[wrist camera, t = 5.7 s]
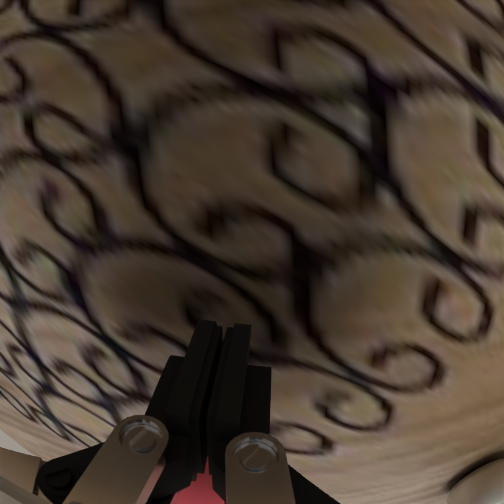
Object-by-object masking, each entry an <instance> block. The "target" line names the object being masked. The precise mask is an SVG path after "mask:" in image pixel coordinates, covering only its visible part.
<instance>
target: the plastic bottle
mask: <svg viewBox="0 0 504 504" xmlns="http://www.w3.org/2000/svg"><path fill="white" fill-rule="evenodd" d="M447 504H504V459H498V460H495V461H492V462H490V463H488V464H486V465H484V466H482V467H480V468H478V469H477V470H475V471H473V472H472V473H470V474H469V475H467V476H466V477H464V478H463V479H461V480H460V481H459V482H458V483H456V484H455V485H454V486H453V487H452V489H451V491H450V494H449V497H448V499H447Z"/></svg>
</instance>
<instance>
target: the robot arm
mask: <svg viewBox="0 0 504 504" xmlns="http://www.w3.org/2000/svg"><path fill="white" fill-rule="evenodd" d="M250 335H251V325H246V324H236V323H234V327H233V328H231V327H227V330H226V334H225V338H224V343H223V347H222V326H217V323H216V321H209V320H200V319H199V321H198V323H197V326H196V328H195V331H194V333H193V336H192V339H191V341H190V344H189V347H188V349H187V352H186V355H185V357H180V356H173V355H171V356H170V357H169V359H168V361H167V363H166V365H165V368H164V370H163V373H162V375H161V377H160V380H159V382H158V384H157V387H156V389H155V391H154V394H153V396H152V399H151V401H150V403H149V406H148V408H147V411H146V413H145V415H134V416H131V417H127V418H125V419H124V420H122V421H120V422H119V424H118V425H117V426H116V427H115V428H114V430H113V431H112V433H111V434H110V435H109V437H108V438H107V440H106V441H105V442H103V443H100V444H98V445H95V446H92V447H89V448H86V449H83V450H80V451H77V452H74V453H71V454H68V455H65V456H62V457H58V458H55V459H52V460H50V461H48V462H46V461H43V460H42V459H41V458H40V457H35V456H31V455H27V454H23V453H19V452H15V451H12V450H8V449H5V448H1V447H0V504H176V502H177V500H178V498H179V496H180V491H181V490H183V489H185V488H187V487H189V486H190V485H191V481H195V482H196V479H197V474H198V473H200V474H204V472H205V467H206V462H207V457H208V467H209V475H212V487H213V490H214V491H215V492H216V493H217V494H218V495H219V496H220V497H221V499H222V500H223V501H224V504H340V503H339V502H337V501H336V500H335V499H333V498H332V497H330V496H329V495H328V494H326V493H325V492H323V491H322V490H321V489H319V488H318V487H317V486H315V485H314V484H313V483H311V482H310V481H309V480H307V479H306V478H305V477H303V476H302V475H301V474H300V473H298V472H297V471H296V470H295V469H293V468H292V467H291V466H290V465H288V463H287V457H286V452H285V450H284V448H283V445H282V444H281V443H280V442H279V441H278V440H277V439H275V438H274V437H272V436H271V435H269V428H270V401H271V367H264V366H253V365H248V358H249V346H250Z"/></svg>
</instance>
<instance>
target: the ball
mask: <svg viewBox="0 0 504 504" xmlns="http://www.w3.org/2000/svg"><path fill="white" fill-rule="evenodd" d="M176 504H224V501H223V500H222V499H221V497H220V496H219V495H218V494H217V493H216V492H215V491H214V490H213V487H212V475H209V467H208V457H207V462H206V467H205V472H204V474H200V473H198V474H197V479H196V482H195V481H191V485H190V486H189V487H187V488H185V489H183V490H181V491H180V496H179V498H178V500H177V502H176Z"/></svg>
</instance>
